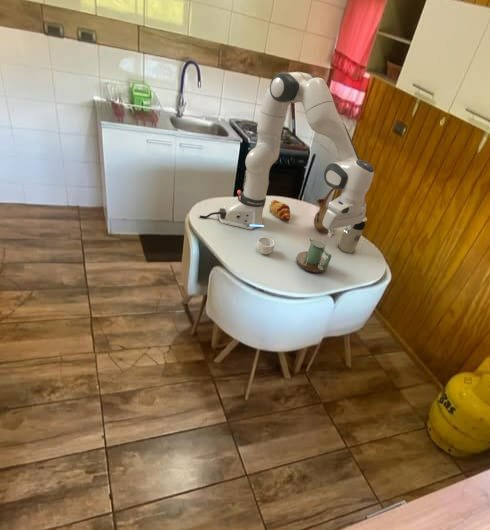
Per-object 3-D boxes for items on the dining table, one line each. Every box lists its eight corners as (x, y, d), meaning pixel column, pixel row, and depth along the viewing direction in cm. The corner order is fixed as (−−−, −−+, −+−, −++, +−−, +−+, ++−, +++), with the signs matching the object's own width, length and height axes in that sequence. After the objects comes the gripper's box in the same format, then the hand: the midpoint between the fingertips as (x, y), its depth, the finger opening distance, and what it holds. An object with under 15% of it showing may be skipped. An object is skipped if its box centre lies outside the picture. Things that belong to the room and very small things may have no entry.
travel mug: (335, 244, 187) (347, 212, 177) (348, 243, 190) (361, 212, 180) (343, 253, 182) (356, 221, 171) (356, 253, 184) (371, 221, 174)
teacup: (274, 257, 168) (276, 247, 165) (257, 256, 166) (260, 246, 163) (268, 244, 176) (271, 234, 173) (252, 243, 174) (255, 233, 171)
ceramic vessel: (331, 226, 203) (348, 183, 188) (339, 235, 196) (356, 191, 181) (304, 225, 198) (318, 181, 183) (310, 234, 191) (326, 189, 176)
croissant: (266, 209, 212) (262, 198, 207) (282, 202, 213) (279, 190, 207) (281, 228, 196) (278, 217, 191) (298, 220, 197) (296, 208, 191)
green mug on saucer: (289, 256, 168) (296, 237, 163) (312, 251, 176) (319, 232, 170) (312, 277, 159) (319, 257, 153) (335, 270, 166) (343, 251, 160)
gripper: (361, 197, 151) (349, 226, 159) (325, 203, 141) (315, 234, 149) (373, 204, 147) (361, 234, 155) (337, 211, 137) (325, 242, 145)
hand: (338, 234), depth 152 cm, fingers open, 8 cm apart
